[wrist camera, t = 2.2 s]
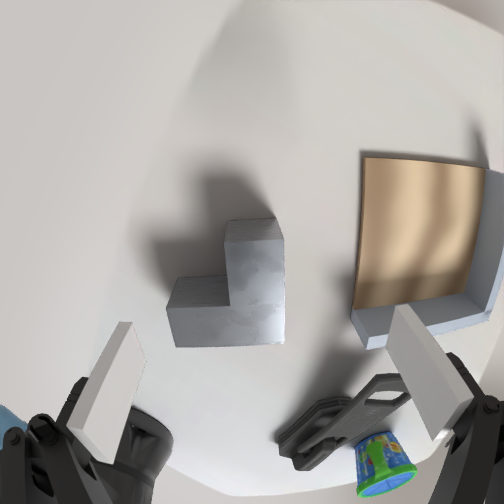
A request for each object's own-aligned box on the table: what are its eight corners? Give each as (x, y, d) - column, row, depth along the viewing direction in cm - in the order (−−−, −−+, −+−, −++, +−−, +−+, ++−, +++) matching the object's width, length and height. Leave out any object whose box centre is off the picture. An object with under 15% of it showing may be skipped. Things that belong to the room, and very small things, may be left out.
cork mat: (352, 306, 28) (353, 309, 27) (362, 157, 22) (365, 157, 21) (461, 289, 28) (463, 292, 27) (482, 168, 22) (485, 169, 22)
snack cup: (340, 434, 38) (353, 486, 28) (401, 410, 36) (422, 459, 27) (350, 464, 43) (361, 504, 34) (399, 445, 42) (414, 483, 33)
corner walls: (350, 318, 28) (366, 349, 24) (362, 157, 22) (390, 164, 17) (466, 298, 28) (488, 320, 24) (490, 169, 22) (521, 179, 17)
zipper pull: (434, 381, 25) (325, 480, 33) (411, 345, 31) (318, 449, 40) (377, 375, 23) (273, 480, 32) (357, 333, 29) (270, 446, 38)
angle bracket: (185, 313, 27) (175, 347, 23) (169, 225, 24) (152, 247, 19) (278, 309, 27) (284, 343, 23) (276, 217, 24) (284, 239, 19)
